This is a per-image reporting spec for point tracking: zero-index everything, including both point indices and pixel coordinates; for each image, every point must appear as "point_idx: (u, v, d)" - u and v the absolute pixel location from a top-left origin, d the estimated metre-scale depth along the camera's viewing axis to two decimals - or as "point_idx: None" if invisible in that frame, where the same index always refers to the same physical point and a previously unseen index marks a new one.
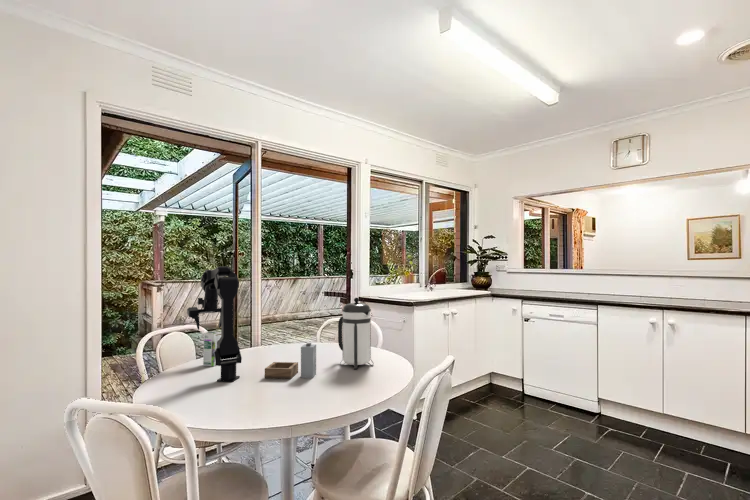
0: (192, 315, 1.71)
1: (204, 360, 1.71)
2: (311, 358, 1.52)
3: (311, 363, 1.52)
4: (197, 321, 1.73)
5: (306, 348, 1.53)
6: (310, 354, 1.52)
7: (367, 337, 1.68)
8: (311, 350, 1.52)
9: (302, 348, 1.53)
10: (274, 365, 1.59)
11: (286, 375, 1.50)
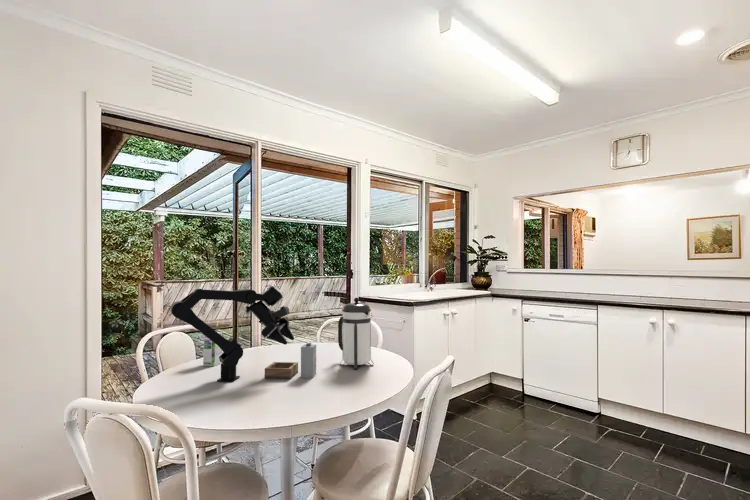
0: None
1: (204, 360, 1.71)
2: (311, 358, 1.52)
3: (311, 363, 1.52)
4: None
5: (306, 348, 1.53)
6: (310, 354, 1.52)
7: (367, 337, 1.68)
8: (311, 350, 1.52)
9: (302, 348, 1.53)
10: (274, 365, 1.59)
11: (286, 375, 1.50)
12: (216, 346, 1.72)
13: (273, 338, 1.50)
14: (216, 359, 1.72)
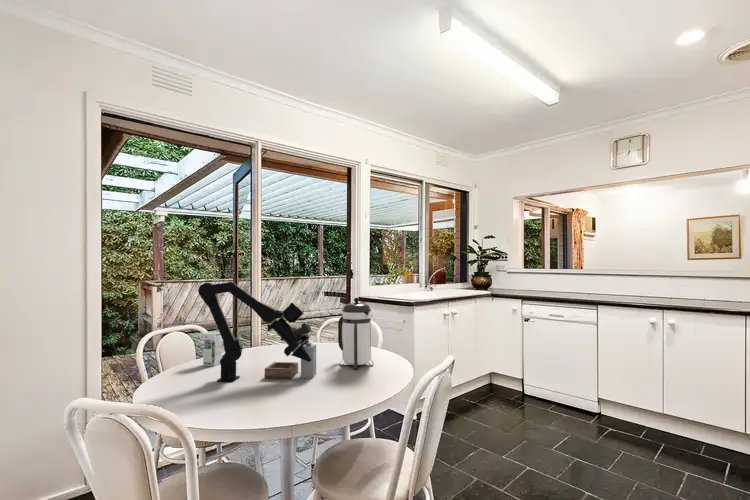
0: None
1: (204, 360, 1.71)
2: (311, 358, 1.52)
3: (311, 363, 1.52)
4: None
5: (306, 348, 1.53)
6: (310, 354, 1.52)
7: (367, 337, 1.68)
8: (311, 350, 1.52)
9: None
10: (274, 365, 1.59)
11: (286, 375, 1.50)
12: (216, 346, 1.72)
13: (297, 355, 1.51)
14: (216, 359, 1.72)
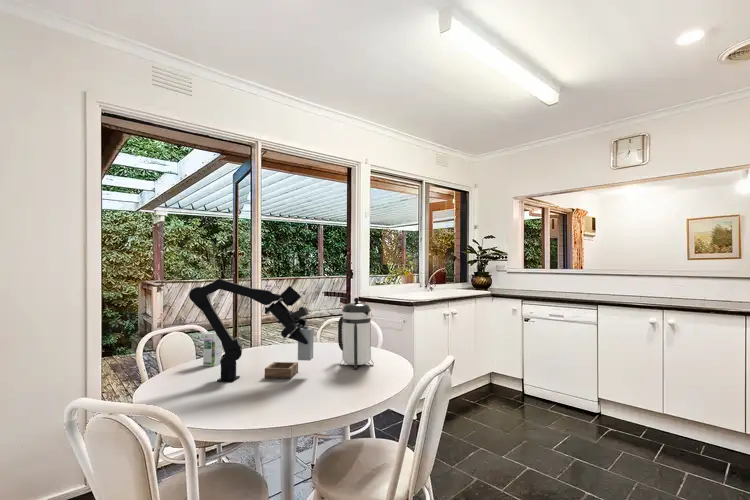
0: None
1: (204, 360, 1.71)
2: (308, 341, 1.53)
3: (308, 346, 1.52)
4: None
5: (303, 331, 1.53)
6: (307, 337, 1.53)
7: (367, 337, 1.68)
8: (308, 333, 1.53)
9: None
10: (274, 365, 1.59)
11: (286, 375, 1.50)
12: (216, 346, 1.72)
13: (294, 338, 1.51)
14: (216, 359, 1.72)
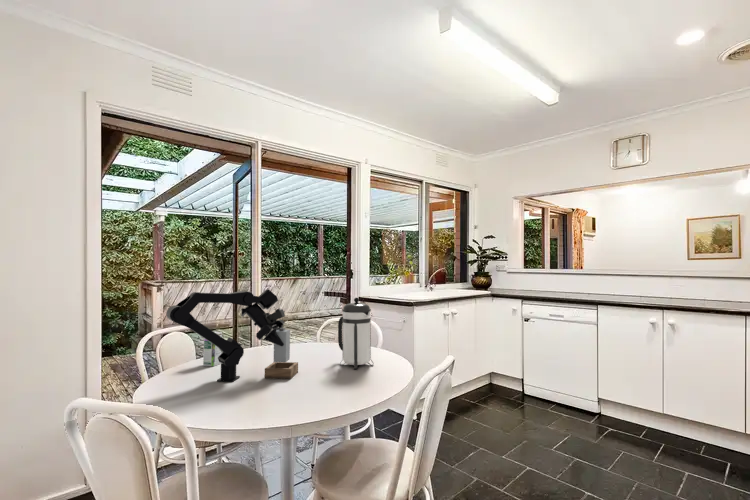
0: None
1: (204, 360, 1.71)
2: (284, 343, 1.53)
3: (284, 347, 1.53)
4: None
5: (279, 333, 1.54)
6: (283, 339, 1.53)
7: (367, 337, 1.68)
8: (284, 335, 1.54)
9: None
10: (274, 365, 1.59)
11: (286, 375, 1.50)
12: (216, 346, 1.72)
13: (270, 340, 1.52)
14: (216, 359, 1.72)
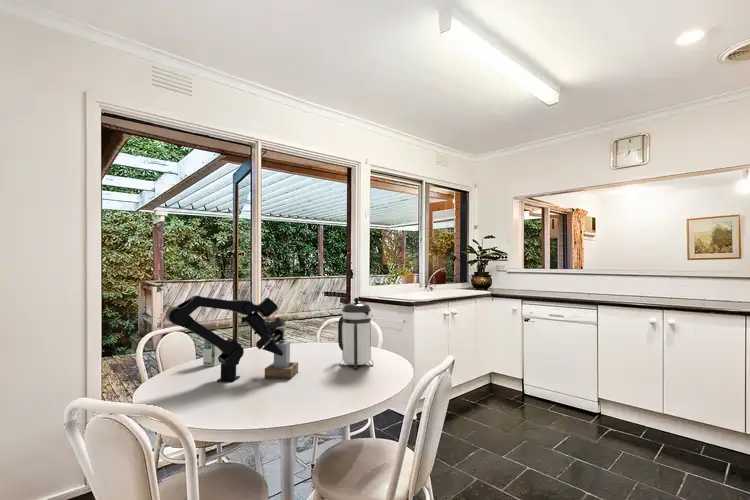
0: None
1: (204, 360, 1.71)
2: (284, 355, 1.53)
3: (284, 360, 1.53)
4: None
5: (279, 345, 1.53)
6: (283, 351, 1.53)
7: (367, 337, 1.68)
8: (284, 347, 1.53)
9: None
10: None
11: (286, 375, 1.50)
12: None
13: (268, 349, 1.51)
14: (216, 359, 1.72)
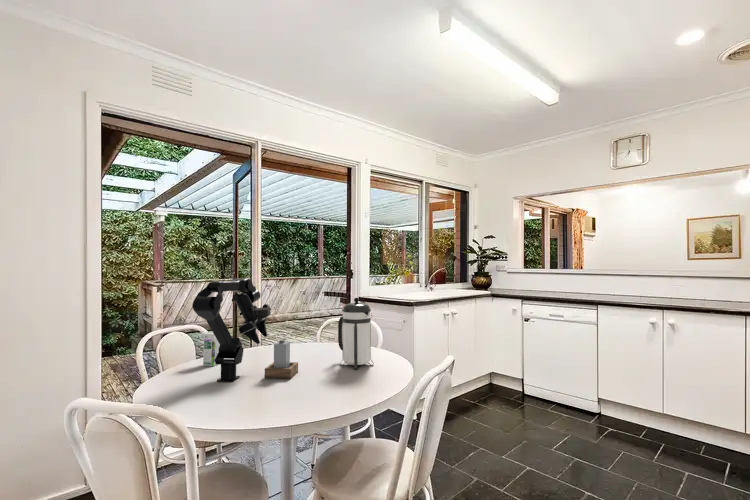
0: None
1: (204, 360, 1.71)
2: (284, 355, 1.53)
3: (284, 360, 1.53)
4: None
5: (279, 345, 1.53)
6: (283, 351, 1.53)
7: (367, 337, 1.68)
8: (284, 347, 1.53)
9: (275, 345, 1.54)
10: None
11: (286, 375, 1.50)
12: (216, 346, 1.72)
13: (248, 335, 1.57)
14: None
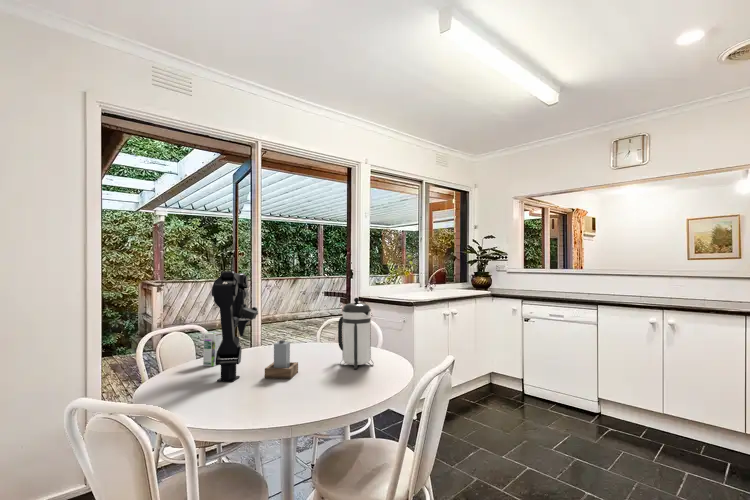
0: None
1: (204, 360, 1.71)
2: (284, 355, 1.53)
3: (284, 360, 1.53)
4: None
5: (279, 345, 1.53)
6: (283, 351, 1.53)
7: (367, 337, 1.68)
8: (284, 347, 1.53)
9: (275, 345, 1.54)
10: None
11: (286, 375, 1.50)
12: (216, 346, 1.72)
13: None
14: None
